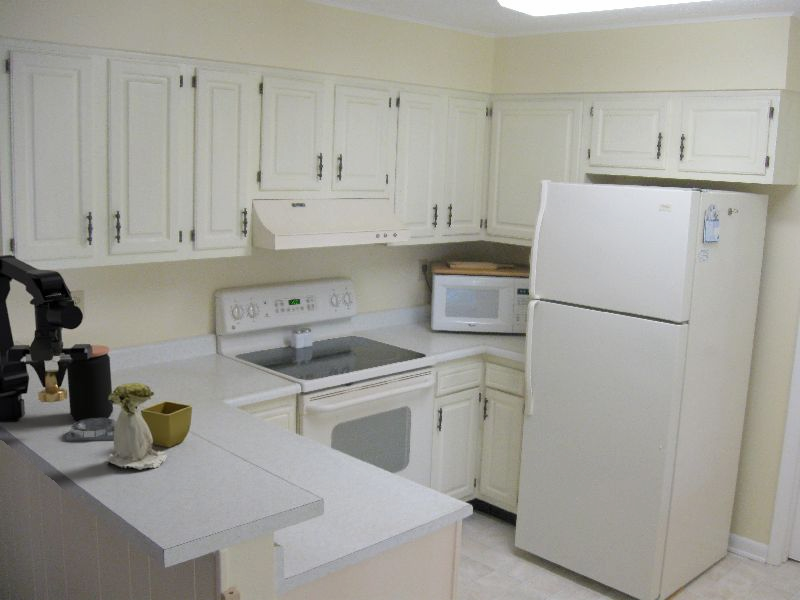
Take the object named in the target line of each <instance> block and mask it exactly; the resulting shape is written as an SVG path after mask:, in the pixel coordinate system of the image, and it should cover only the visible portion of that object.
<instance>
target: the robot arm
mask: <svg viewBox="0 0 800 600" xmlns="http://www.w3.org/2000/svg"><path fill="white" fill-rule="evenodd" d="M13 280H14V281H16V282H18V283H20V284H22V285H24V286H25V291H26V292H27V293H28V294H29V295H30V296H31V297H33V298H32V299H31V300H30V301H29V304H30V305H33V306H34V307H33V309H34V319H35V320H34V321H35V323H34V324H35V330H34V334H33V335H34V337H33V339H32V342H31V343H30V344H16V345H15V344H14V342H15V341H14V338H13V331H12V326H11V321H10V317H9V311H8V306H7V299H8V296H9V294H10V292H11V282H12V281H13ZM71 293H72V292H71V291H70V289H69V287H68V286H67V283H66V282H65V280H64V277H63V276H62V274H61V273H60V272H58V271H56V270H52V269H51V270H48V269H39V268H36V267H34V266H32V265H30V264H29V263H26V262H24V261H22V260H20V259H18V258H16V256H15V255H12V254H5V255H0V422H4V423H5V422H18V421H20V419H22V418H23V416H25V415H26V411H25V409H26V407H25V399H23V396H22V395H23V394H24V395H25V394H28V389H29V383H30V375H29V372H28V369H27V365H30V366H31V367H32V368H33V369H34V371H35V372H36V375H37V377H38V379H39V381H40V383H41V385H42V387H43V388H45V377H44V371H46V363H45V362H50V361H52V360H54V357H59V358H60V359H59V360H57V362H56V363H57V370H58V387H59V388H62V385H63V382H64V378H65V376H66V373H67V367H68V365H69V363H71V362H72V361H73V360H87V359H89V358H90V357H91V356H92V355H93V350H92V346H91V345H92V344H90V343H75V344H74V345H73V346H71V347H64V342H63V334H62V331H63V329H67V330H75V329H77V328H78V327H80V325H81V324H82V322H83V318H84V315H83V311H82V310H81V308H80V307H79V306H77V305H76V304H75V300H74V299H73V297H72V294H71ZM24 357H25V360H26V361H25V360H23V358H24Z"/></svg>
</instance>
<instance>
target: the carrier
mask: <svg viewBox="0 0 800 600" xmlns="http://www.w3.org/2000/svg"><path fill="white" fill-rule="evenodd" d="M116 421H117V420H115V419H114V418H110V417H107V418H90V419H84V420H80V421H75V422H74V423H72V424H71V426H70V431H69V433H67V435H66V437H65V440H66V442H90V441H91V442H92V441H93V442H94V441H95V442H96V441H114V427H115V424H116Z"/></svg>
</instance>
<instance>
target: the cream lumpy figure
mask: <svg viewBox="0 0 800 600" xmlns="http://www.w3.org/2000/svg"><path fill="white" fill-rule="evenodd" d="M151 389H152V387H150V386H148V385H146V384H144V383H139V382H131V383H123V384H121V385H118V386H116V387H115V389H114V390H112V393H111V394H110V395H109V397H108V400H109V402H111V403H112V404H113V405H117V406H119V407H121V408H120V409H121V410H120V412H119V415H118V417H117V419H116V420H115V421H116V424H115V427H114V440H113V448H114V451H115V452H114V455H113V454H112V453H110V454H109V455H108V458H107V463H106V464H109V463H111V464H114V465H116V466H118V467H121V469H122V468H125V469H127V467H128V468H129V469H130V468H134V469H137V470H139V471H140V470H143V469H147V468H150V469H152V468H154V469H155V468H159V467H160V466H161V464H162V463H163V462H165V461H166V459H167V457H168V455H167V452H165V451H160V450H158V451H156V450H154V449H152V447H153V445H152V444H153V439H152V435H151V432H150V430H149V428H148V425H147V424H146V422H145V420H144V419H143V417H142V414H141V412H139V410H138V407H139V406H140V405H142V404H144V403H146V402H147V401H149V400H151V398H152V397H154V396H155V392H154V391H152V390H151Z"/></svg>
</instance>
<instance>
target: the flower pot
mask: <svg viewBox="0 0 800 600" xmlns="http://www.w3.org/2000/svg"><path fill="white" fill-rule="evenodd" d="M192 413H193V405H190V404H185V403H177V402H172V401H165V400H164V401H162V402H159V403H156V404H154V405H151V406H147V407H145V408H142V409H140V415H141V416H142V417H143V419H144V420H145V422H146V424H147V425H148V428H149V430H150V432H151V435H152V439H153V443H152V445H156V446H159V447H165V448H172V447H174V446H176V445H179V444H181V443H183V442H184V441H185V440H186V438H187V436H188V434H189V432H190V428H191V425H192V424H191V423H192Z"/></svg>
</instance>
